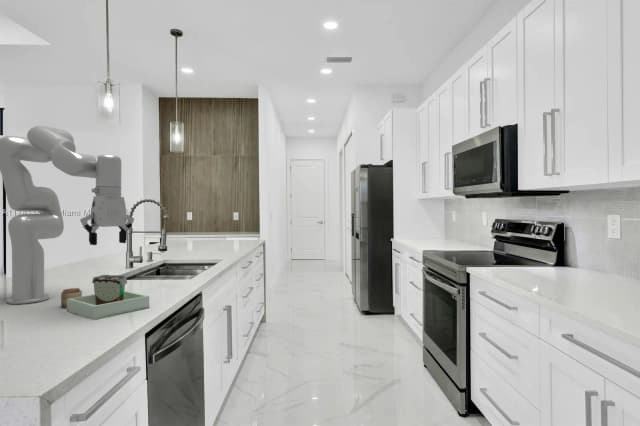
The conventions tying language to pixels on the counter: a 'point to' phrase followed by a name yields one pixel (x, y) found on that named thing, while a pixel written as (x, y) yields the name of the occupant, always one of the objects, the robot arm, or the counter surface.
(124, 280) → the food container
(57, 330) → the counter surface
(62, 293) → the salt cellar
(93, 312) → the bin
